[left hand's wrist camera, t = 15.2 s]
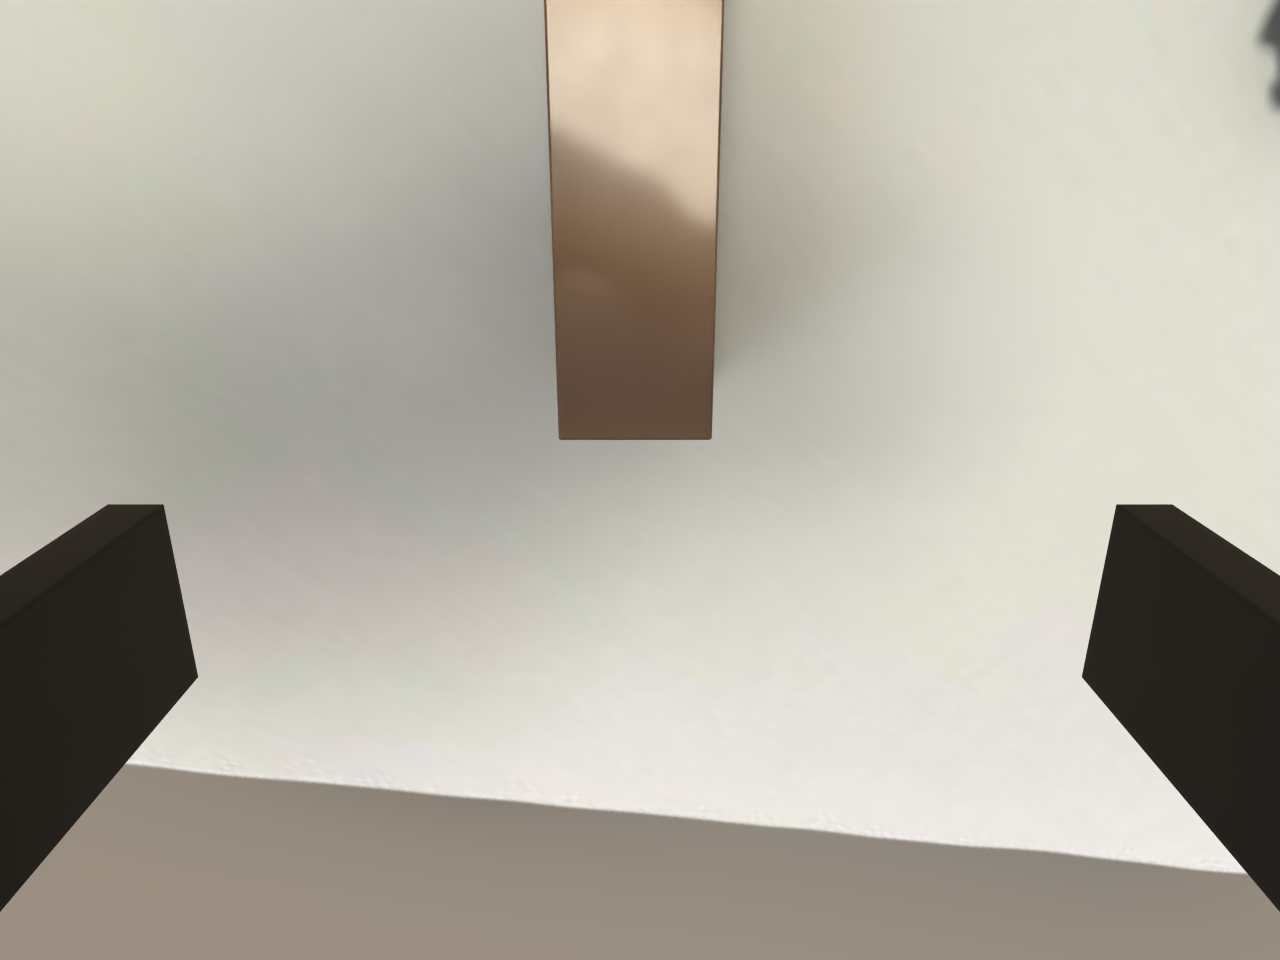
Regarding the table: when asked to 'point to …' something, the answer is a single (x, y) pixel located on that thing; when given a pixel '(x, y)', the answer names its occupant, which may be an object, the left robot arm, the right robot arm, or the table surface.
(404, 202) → the table surface
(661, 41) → the post
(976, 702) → the table surface
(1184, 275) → the table surface
